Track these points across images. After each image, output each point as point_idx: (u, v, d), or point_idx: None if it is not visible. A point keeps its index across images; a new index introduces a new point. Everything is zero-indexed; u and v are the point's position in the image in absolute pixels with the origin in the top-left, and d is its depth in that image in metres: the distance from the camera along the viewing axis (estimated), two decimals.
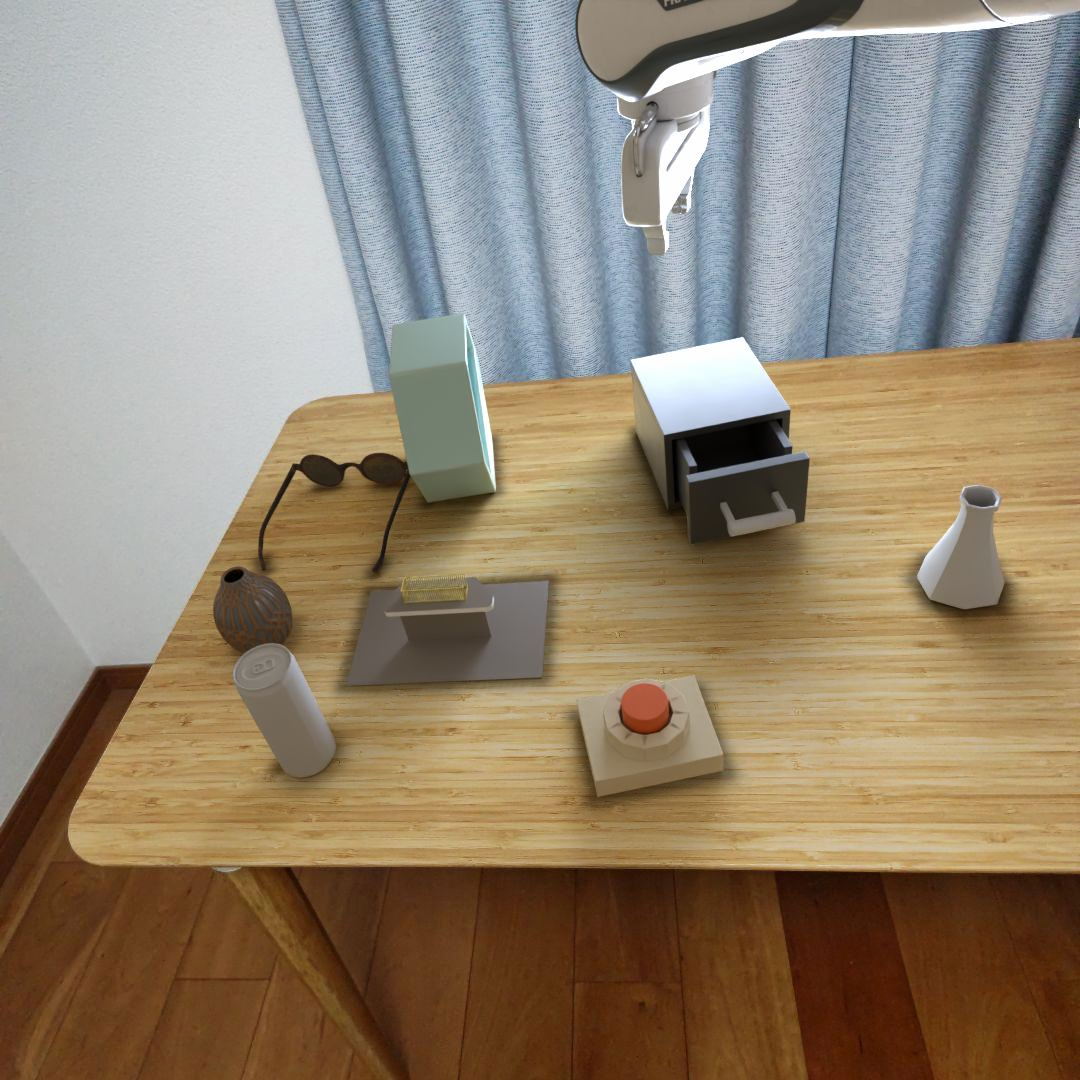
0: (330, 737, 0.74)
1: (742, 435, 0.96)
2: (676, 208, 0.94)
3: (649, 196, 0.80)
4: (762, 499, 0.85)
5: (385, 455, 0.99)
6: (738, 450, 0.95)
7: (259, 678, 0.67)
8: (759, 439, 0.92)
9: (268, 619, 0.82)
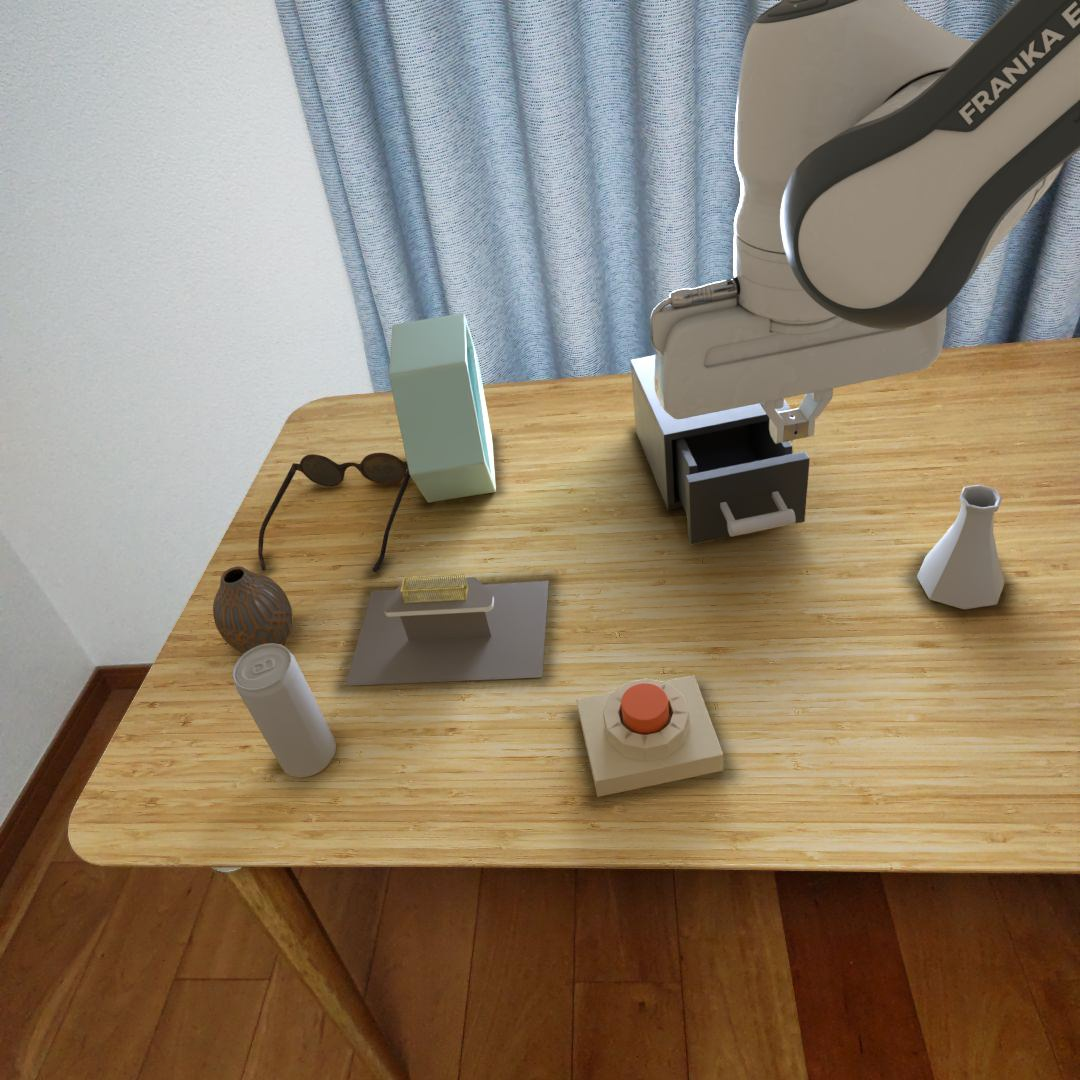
0: (330, 737, 0.74)
1: (742, 435, 0.96)
2: None
3: (662, 382, 0.63)
4: (762, 499, 0.85)
5: (385, 455, 0.99)
6: (738, 450, 0.95)
7: (259, 678, 0.67)
8: (759, 439, 0.92)
9: (268, 619, 0.82)
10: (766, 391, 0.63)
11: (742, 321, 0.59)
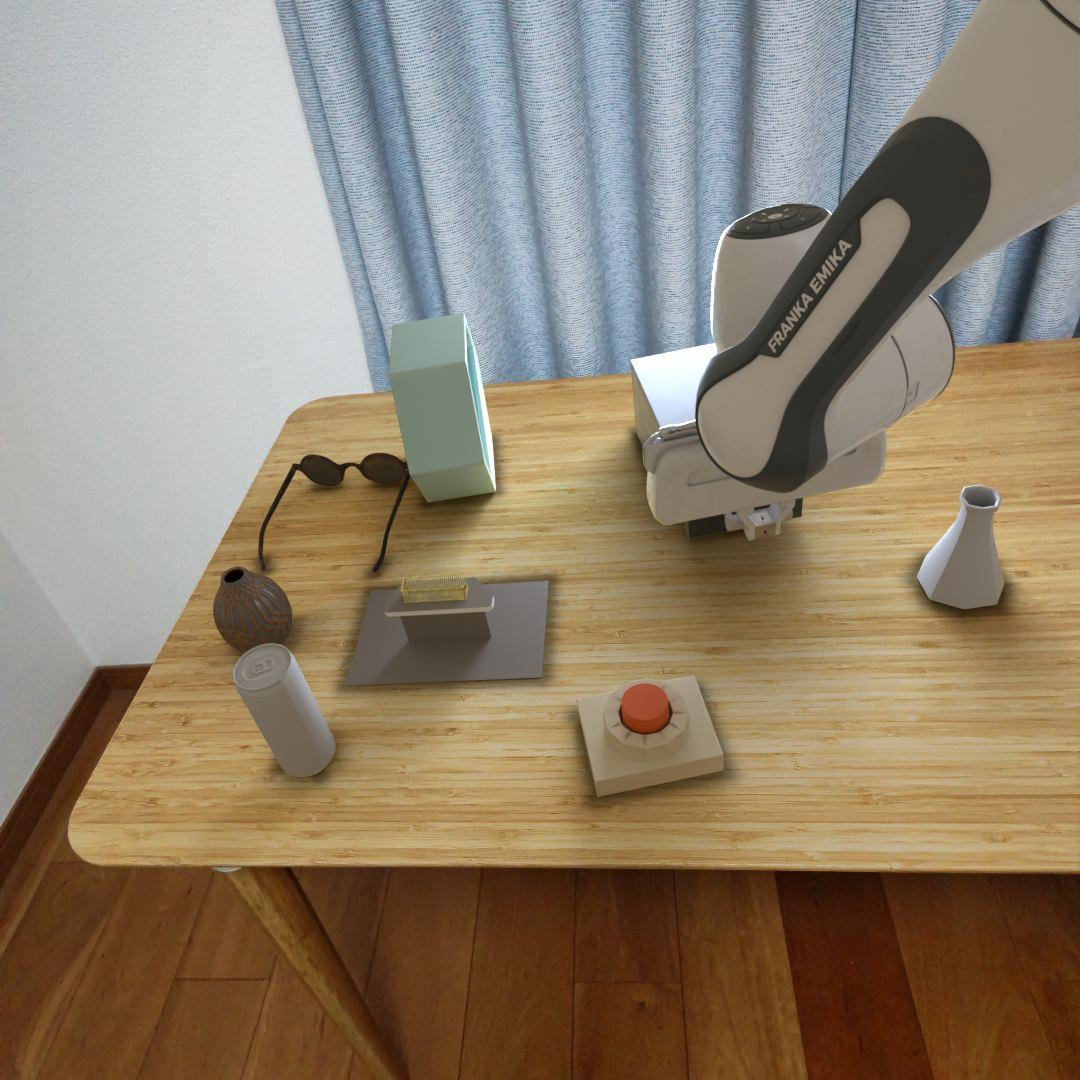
0: (330, 737, 0.74)
1: None
2: None
3: (653, 496, 0.76)
4: None
5: (385, 455, 0.99)
6: None
7: (259, 678, 0.67)
8: None
9: (268, 619, 0.82)
10: (739, 503, 0.76)
11: None
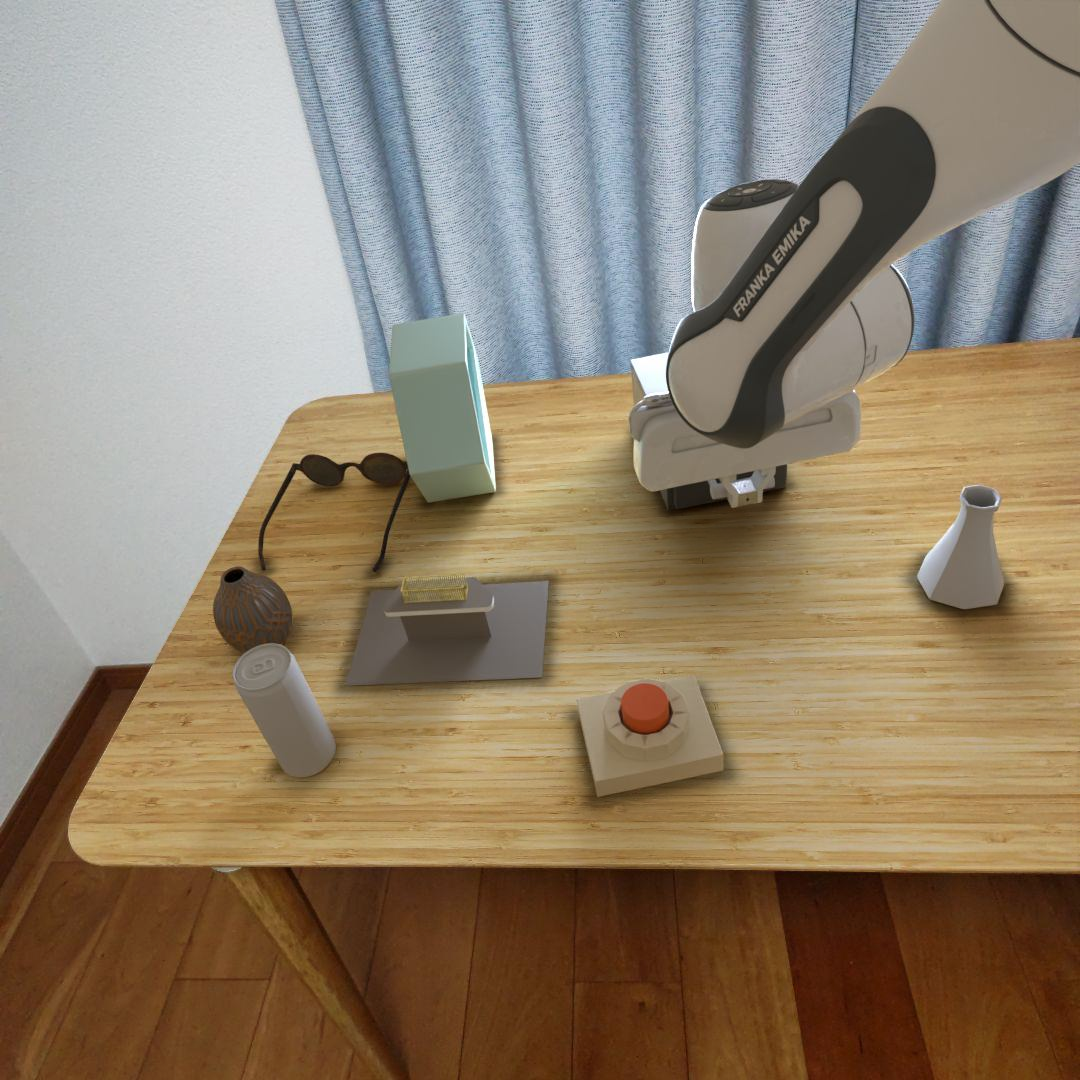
0: (330, 737, 0.74)
1: None
2: None
3: (639, 463, 0.79)
4: None
5: (385, 455, 0.99)
6: None
7: (259, 678, 0.67)
8: None
9: (268, 619, 0.82)
10: (721, 469, 0.80)
11: None
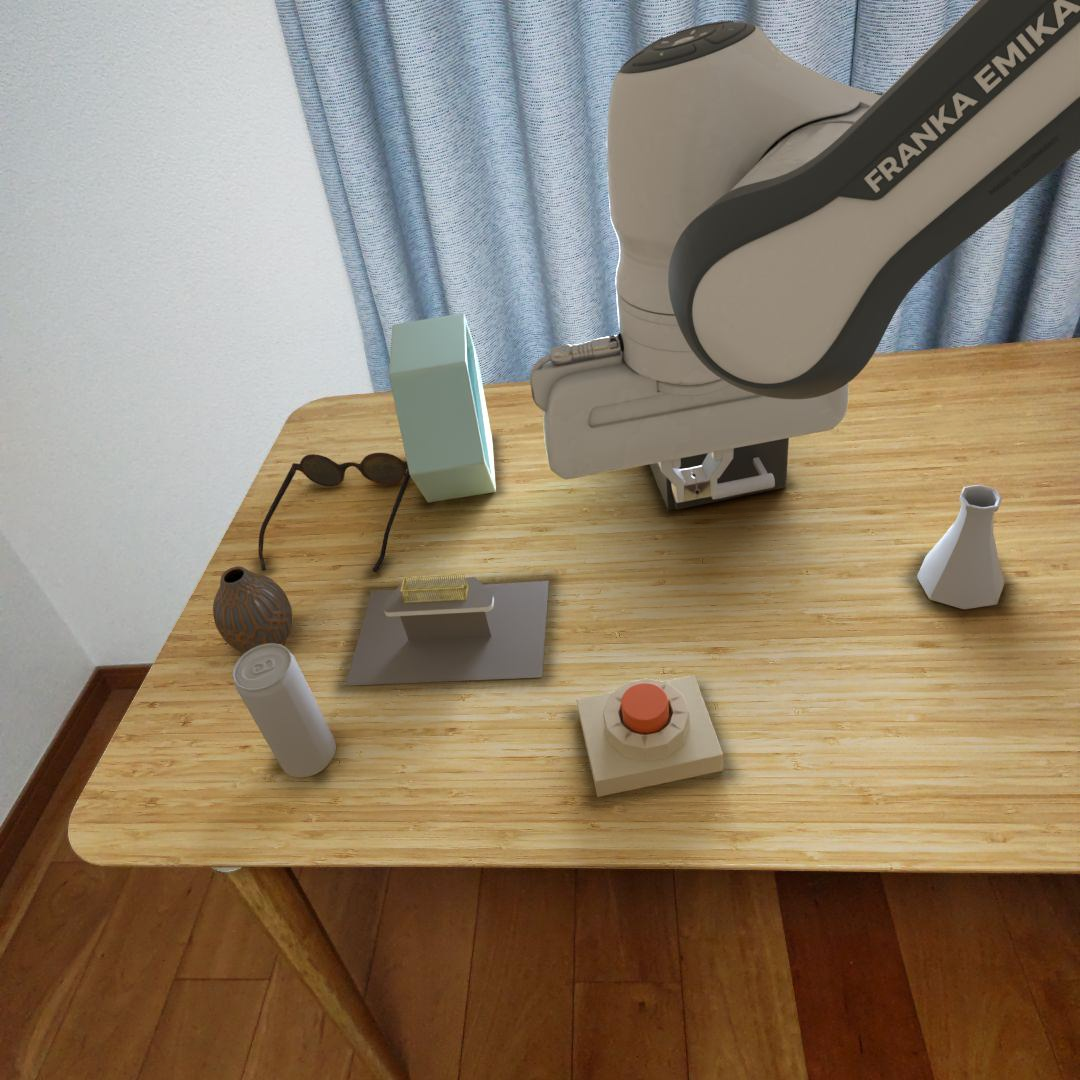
0: (330, 737, 0.74)
1: None
2: None
3: (547, 441, 0.59)
4: (744, 465, 0.89)
5: (385, 455, 0.99)
6: None
7: (259, 678, 0.67)
8: None
9: (268, 619, 0.82)
10: (659, 451, 0.59)
11: (626, 380, 0.56)
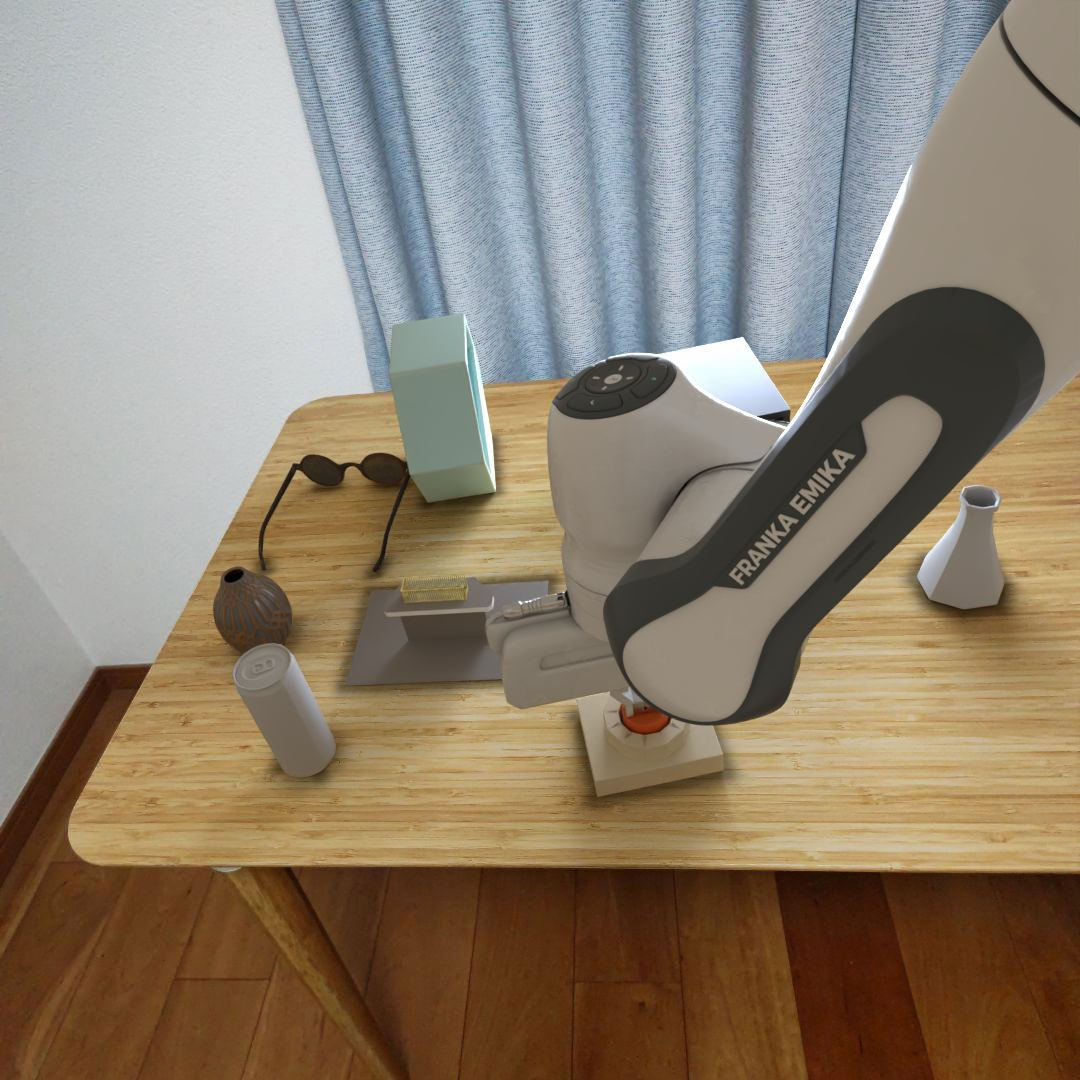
0: (330, 737, 0.74)
1: None
2: None
3: (502, 679, 0.63)
4: None
5: (385, 455, 0.99)
6: None
7: (259, 678, 0.67)
8: None
9: (268, 619, 0.82)
10: (607, 684, 0.64)
11: (573, 634, 0.60)
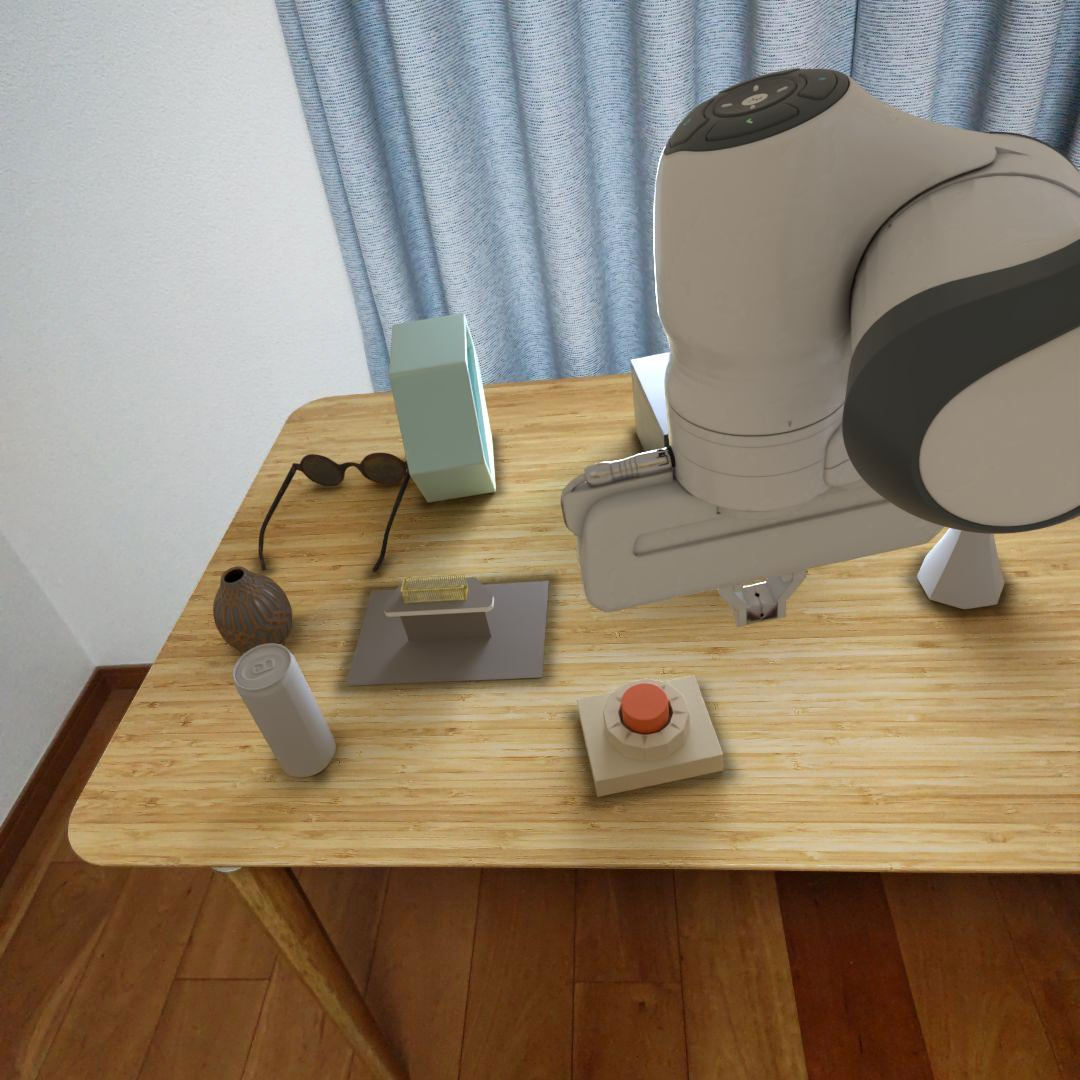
0: (330, 737, 0.74)
1: None
2: None
3: (583, 571, 0.49)
4: None
5: (385, 455, 0.99)
6: None
7: (259, 678, 0.67)
8: None
9: (268, 619, 0.82)
10: (718, 578, 0.49)
11: (679, 503, 0.45)
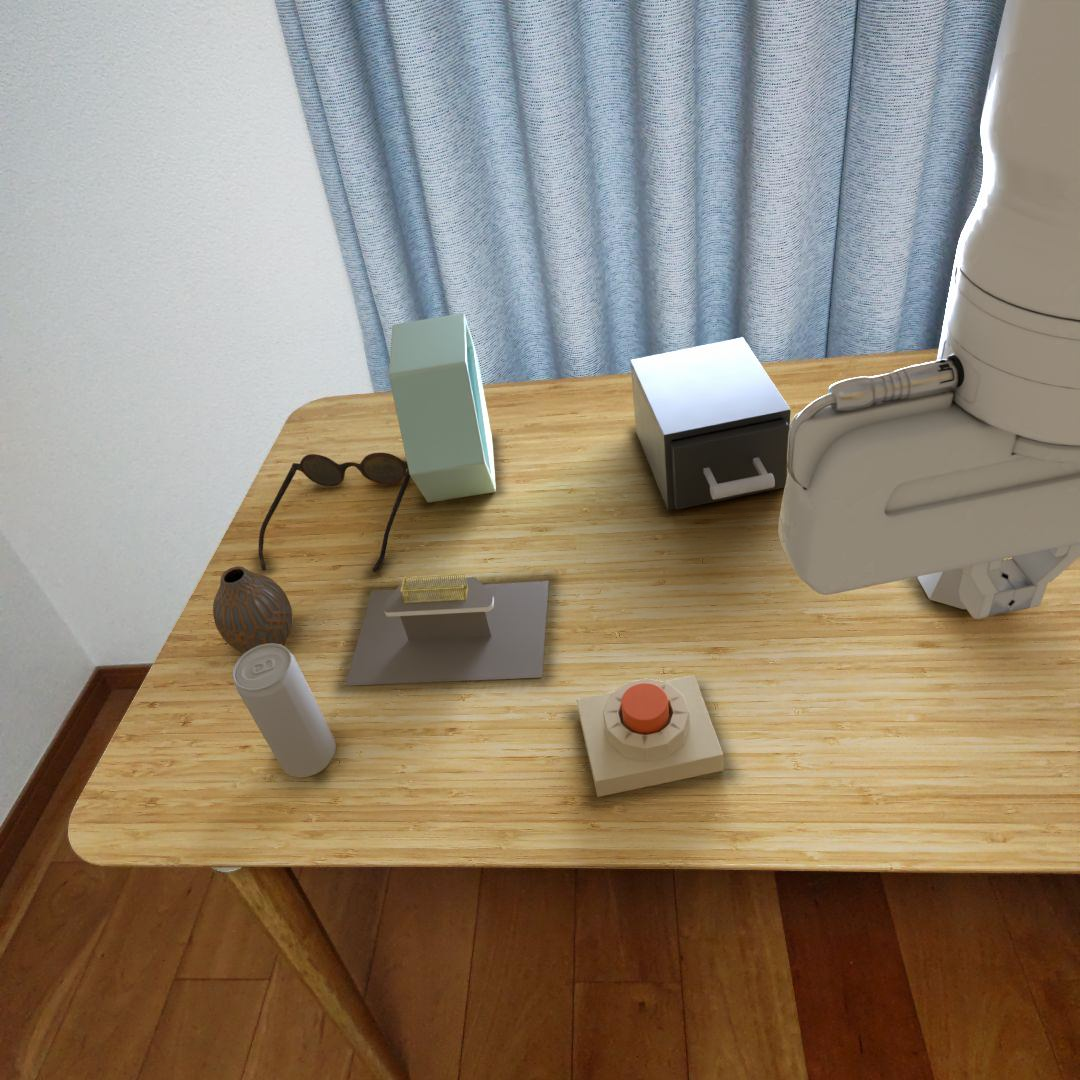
0: (330, 737, 0.74)
1: None
2: None
3: (803, 536, 0.35)
4: (744, 465, 0.89)
5: (385, 455, 0.99)
6: None
7: (259, 678, 0.67)
8: None
9: (268, 619, 0.82)
10: (984, 549, 0.36)
11: (965, 438, 0.32)
